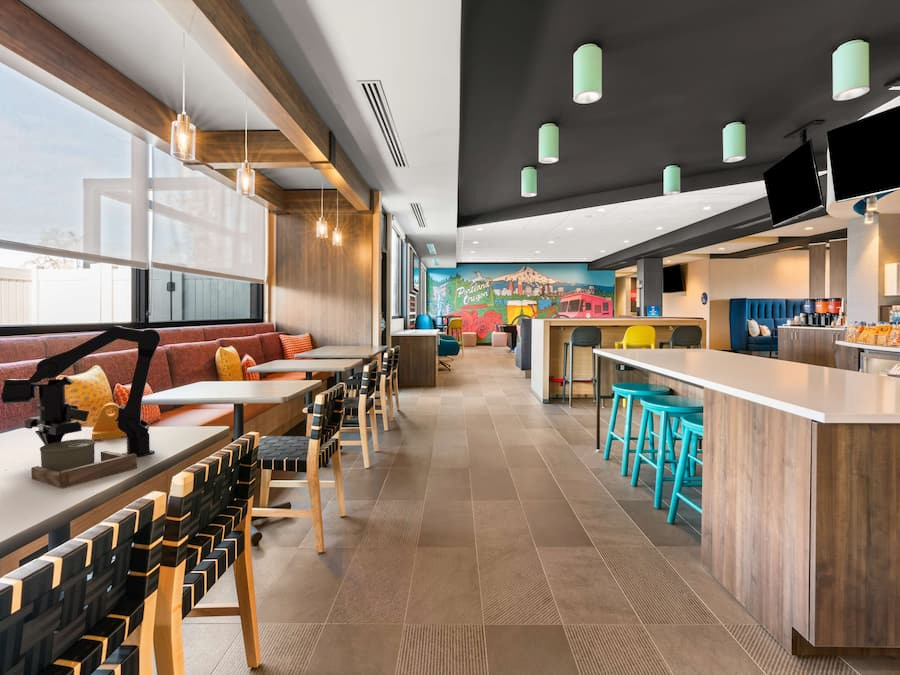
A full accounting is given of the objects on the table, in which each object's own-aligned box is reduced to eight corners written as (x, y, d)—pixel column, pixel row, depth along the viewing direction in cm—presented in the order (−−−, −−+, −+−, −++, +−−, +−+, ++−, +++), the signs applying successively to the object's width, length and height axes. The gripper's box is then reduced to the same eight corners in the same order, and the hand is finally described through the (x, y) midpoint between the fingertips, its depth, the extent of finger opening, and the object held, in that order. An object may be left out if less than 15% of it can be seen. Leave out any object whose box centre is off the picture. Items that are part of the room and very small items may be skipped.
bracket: (91, 442, 159) (91, 407, 159) (92, 437, 165) (91, 404, 165) (129, 437, 165) (129, 404, 165) (129, 433, 171) (128, 401, 171)
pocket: (137, 468, 132) (136, 454, 132) (62, 488, 116) (61, 472, 116) (106, 460, 138) (105, 447, 138) (31, 478, 123) (31, 463, 122)
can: (66, 461, 137) (65, 438, 137) (106, 462, 137) (105, 439, 136) (28, 475, 125) (27, 450, 125) (71, 476, 125) (70, 450, 124)
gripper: (101, 399, 137) (102, 451, 137) (68, 394, 145) (69, 443, 146) (55, 405, 127) (57, 461, 128) (23, 399, 135) (24, 452, 136)
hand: (53, 454), depth 134 cm, fingers closed
